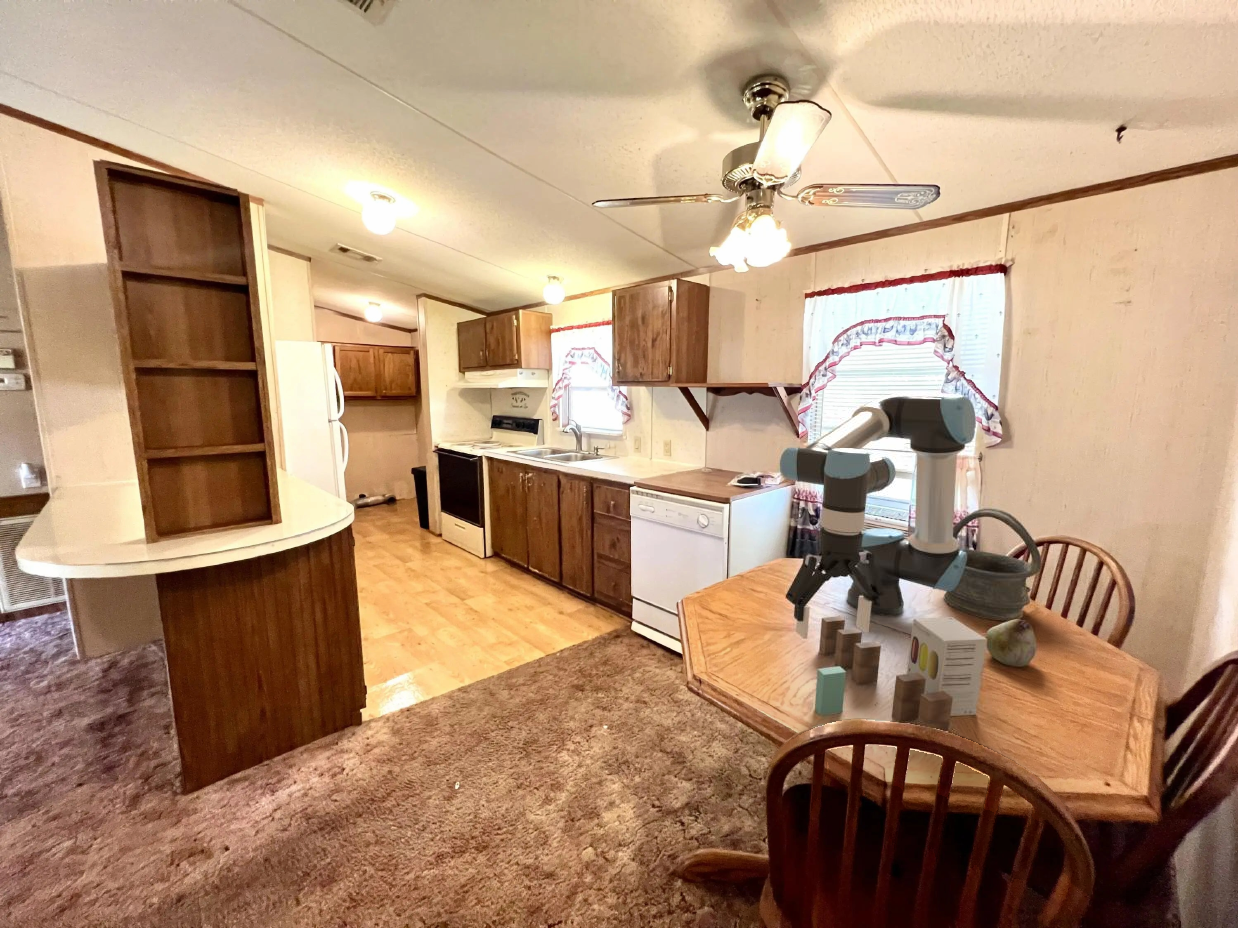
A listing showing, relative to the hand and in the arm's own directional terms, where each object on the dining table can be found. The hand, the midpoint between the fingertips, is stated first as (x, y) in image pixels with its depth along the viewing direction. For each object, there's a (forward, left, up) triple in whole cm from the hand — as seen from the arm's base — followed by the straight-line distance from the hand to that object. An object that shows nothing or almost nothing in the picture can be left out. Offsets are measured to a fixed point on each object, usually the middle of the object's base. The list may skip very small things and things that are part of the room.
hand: (832, 632), depth 95 cm
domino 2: (-14, -13, -17) cm, 26 cm away
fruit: (-54, -7, -17) cm, 57 cm away
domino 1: (-14, -19, -17) cm, 29 cm away
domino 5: (-14, +11, -17) cm, 25 cm away
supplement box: (-25, +3, -17) cm, 31 cm away
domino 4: (-14, +5, -17) cm, 23 cm away
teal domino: (0, 0, -17) cm, 17 cm away
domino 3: (-14, -7, -17) cm, 23 cm away
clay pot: (-75, -32, -17) cm, 83 cm away
